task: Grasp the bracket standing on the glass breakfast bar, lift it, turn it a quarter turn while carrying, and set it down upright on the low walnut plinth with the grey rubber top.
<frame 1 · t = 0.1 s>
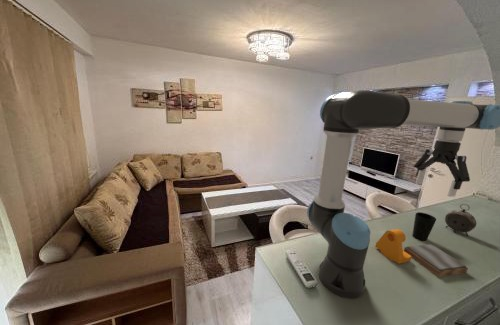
hand: (433, 189, 88), 28 cm above the breakfast bar, fingers open, 13 cm apart
bracket: (392, 255, 87), on the breakfast bar
plinth: (432, 261, 84), on the breakfast bar
cup: (419, 238, 101), on the breakfast bar
alarm clock: (455, 232, 107), on the breakfast bar
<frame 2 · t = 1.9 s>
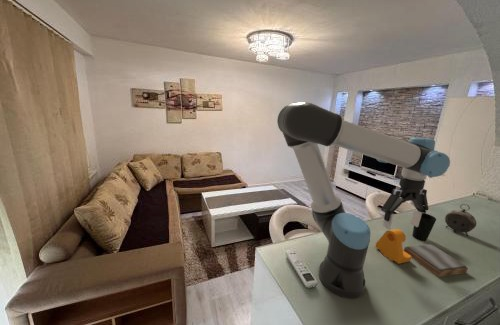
hand: (400, 226, 84), 14 cm above the breakfast bar, fingers open, 13 cm apart
nothing on the breakfast bar moved.
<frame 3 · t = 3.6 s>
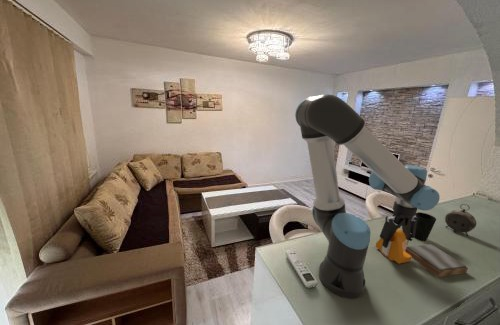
hand: (392, 252, 87), 1 cm above the breakfast bar, fingers closed on bracket, 8 cm apart
bracket: (392, 255, 87), on the breakfast bar, touching gripper
everything else where it was.
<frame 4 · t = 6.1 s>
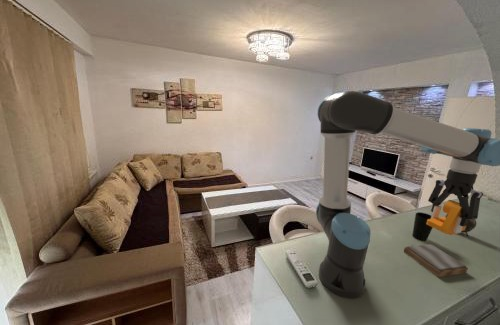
hand: (444, 226, 80), 17 cm above the breakfast bar, fingers closed on bracket, 8 cm apart
bracket: (443, 229, 80), point 15 cm above the breakfast bar, touching gripper
everything else where it was.
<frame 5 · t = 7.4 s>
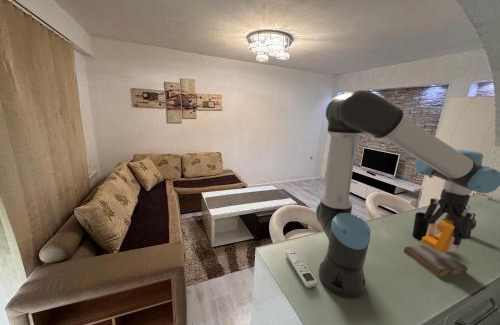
hand: (439, 243, 82), 9 cm above the breakfast bar, fingers closed on bracket, 8 cm apart
bracket: (438, 246, 82), point 7 cm above the breakfast bar, touching gripper
everything else where it was.
when the fingers open (5 cm above the breakfast bar, at t = 8.5 s): bracket stays where it is, resting on plinth.
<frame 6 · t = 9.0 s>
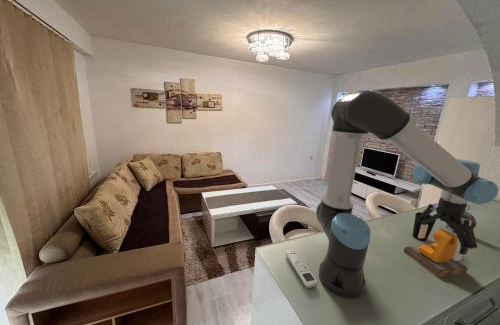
hand: (437, 248, 82), 7 cm above the breakfast bar, fingers open, 13 cm apart
bracket: (434, 256, 83), point 3 cm above the breakfast bar, touching plinth
everything else where it was.
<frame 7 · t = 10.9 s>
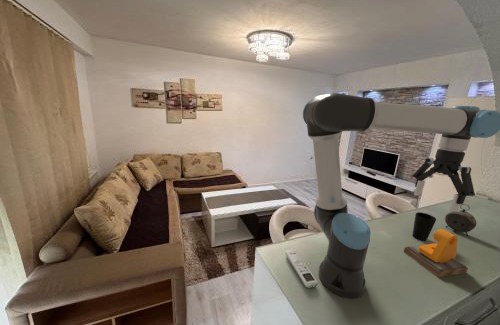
hand: (433, 202, 80), 26 cm above the breakfast bar, fingers open, 13 cm apart
nothing on the breakfast bar moved.
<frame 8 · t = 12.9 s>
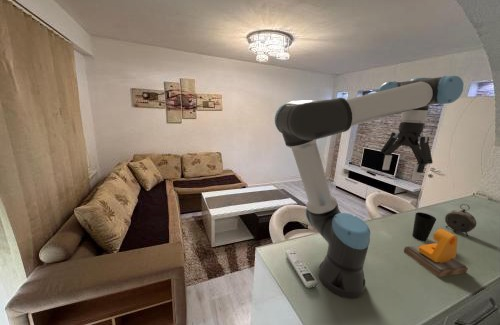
hand: (399, 174, 83), 35 cm above the breakfast bar, fingers open, 13 cm apart
nothing on the breakfast bar moved.
at the end: bracket inside the target area on the plinth (0.1 cm from its centre), point 2.8 cm above the plinth's base; bracket tilted 0°; the gripper is holding nothing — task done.
